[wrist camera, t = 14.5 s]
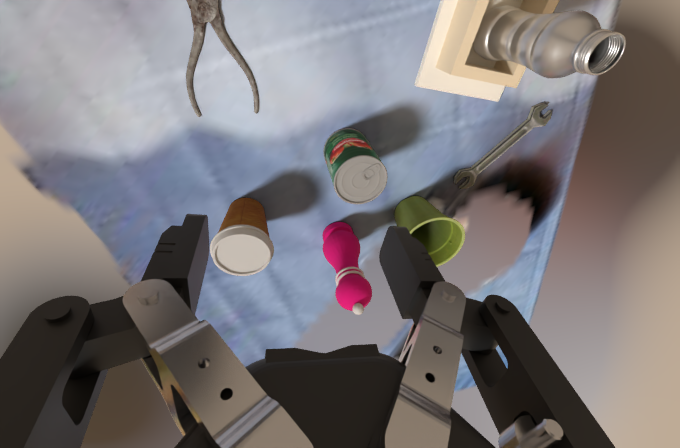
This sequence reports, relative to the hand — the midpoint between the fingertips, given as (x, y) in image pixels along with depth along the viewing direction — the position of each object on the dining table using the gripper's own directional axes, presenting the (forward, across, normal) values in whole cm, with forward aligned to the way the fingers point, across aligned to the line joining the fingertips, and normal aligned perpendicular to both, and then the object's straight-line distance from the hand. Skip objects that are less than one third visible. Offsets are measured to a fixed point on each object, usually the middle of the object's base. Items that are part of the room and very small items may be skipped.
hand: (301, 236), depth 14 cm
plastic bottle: (+37, -29, -10) cm, 48 cm away
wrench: (+39, -41, +7) cm, 57 cm away
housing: (+38, -28, -10) cm, 48 cm away
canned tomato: (+38, -12, +11) cm, 42 cm away
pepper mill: (+38, -14, +29) cm, 50 cm away
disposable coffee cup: (+38, +4, +25) cm, 46 cm away
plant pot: (+38, -28, +22) cm, 52 cm away
